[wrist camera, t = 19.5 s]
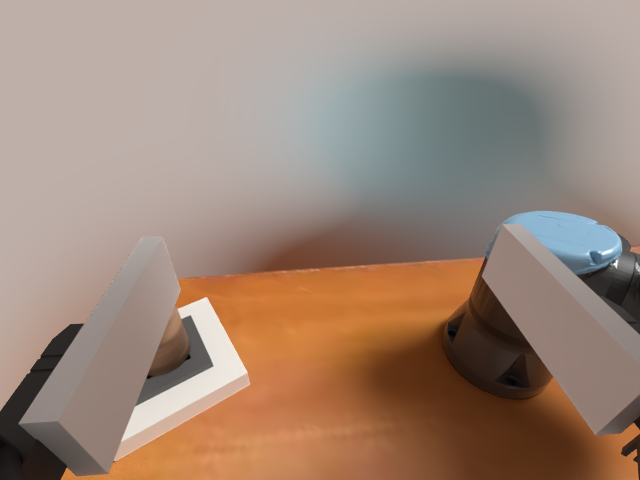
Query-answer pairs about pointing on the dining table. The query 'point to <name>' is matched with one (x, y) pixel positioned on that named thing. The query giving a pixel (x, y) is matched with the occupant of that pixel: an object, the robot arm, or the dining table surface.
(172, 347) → the peg
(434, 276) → the dining table surface
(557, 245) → the robot arm
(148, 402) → the frame
